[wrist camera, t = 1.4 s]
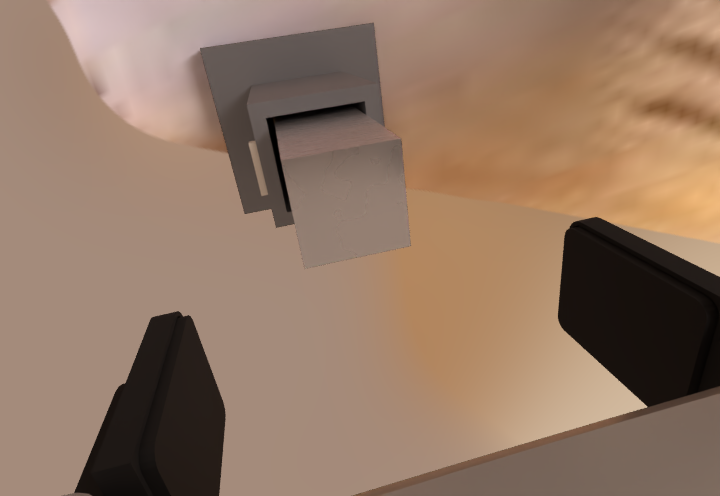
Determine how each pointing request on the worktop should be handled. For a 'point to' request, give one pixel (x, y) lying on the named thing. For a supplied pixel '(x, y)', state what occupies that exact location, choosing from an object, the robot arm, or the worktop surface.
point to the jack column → (343, 184)
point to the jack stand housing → (286, 99)
